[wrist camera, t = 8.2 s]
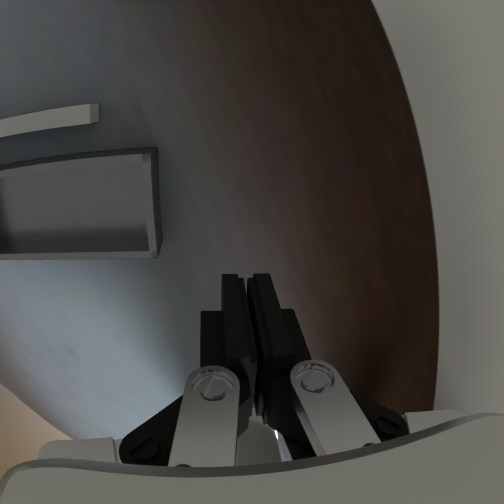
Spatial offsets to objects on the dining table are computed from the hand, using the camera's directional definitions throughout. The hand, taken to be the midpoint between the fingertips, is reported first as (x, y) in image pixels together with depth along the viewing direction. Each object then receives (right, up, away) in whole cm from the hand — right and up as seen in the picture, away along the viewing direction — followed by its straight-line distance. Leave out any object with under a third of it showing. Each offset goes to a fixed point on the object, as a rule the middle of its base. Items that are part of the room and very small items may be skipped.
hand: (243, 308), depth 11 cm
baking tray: (-16, +6, +12) cm, 21 cm away
